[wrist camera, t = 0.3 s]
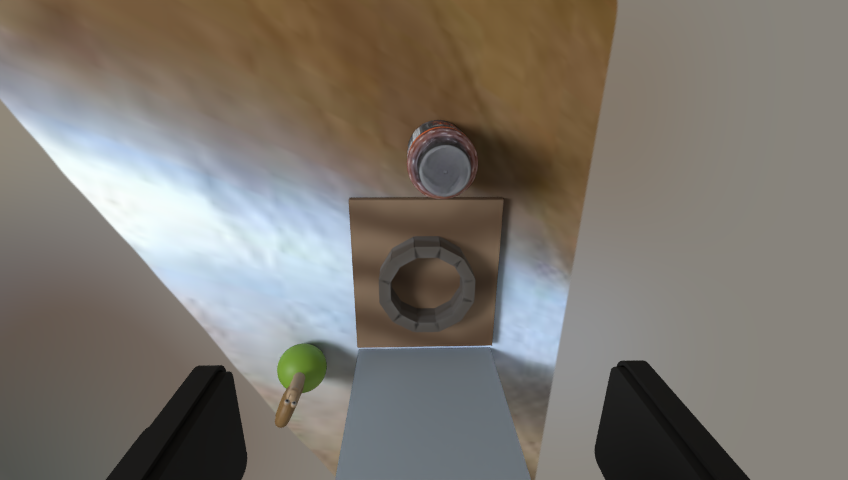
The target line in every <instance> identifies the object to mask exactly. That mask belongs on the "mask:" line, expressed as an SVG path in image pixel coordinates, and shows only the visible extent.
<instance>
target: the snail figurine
mask: <svg viewBox="0 0 848 480" xmlns="http://www.w3.org/2000/svg"><path fill="white" fill-rule="evenodd" d="M326 368H327V364H326V359H325V356H324V355H323V353H322V352H321V351H320V350H319V349H318V348H317V347H315V346H313V345H310V344H298V345H295V346H292V347H291V348H289V349H288V350H286V351H285V352H284V354H283V355H282V356H281V358H280V360H279V363H278V367H277V373H278V378H279V380H280V382H281V384H282V385H283V386H284V387H285V388H286V391H285V393H284V394H283V397H282V399H281V401H280V404H279V407H278V410H277V412H276V419H275V424H276V426H277V427H280V428H282V427H284V426H286V425H287V424H288V422H289V420H290V418H291V416H292V414H293V412H294V410H295V407H296V406H297V403H298V400H299V398H300V396H301V393H305V392H309V391H311V390H313V389H315V388H316V387H317V386H318V385H319V384H320V383H321V382H322V380H323V379H324V376H325V374H326Z"/></svg>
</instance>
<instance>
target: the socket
mask: <svg viewBox="0 0 848 480" xmlns="http://www.w3.org/2000/svg"><path fill="white" fill-rule="evenodd" d="M503 202H504V200H503V198H502V197H453V198H449V199H434V198H431V197H393V198H350V199H349V214H350V230H351V247H352V264H353V280H354V297H355V313H356V330H357V347H358V348H362V347H424V346H486V345H492V339H493V326H494V314H495V301H496V289H497V276H498V264H499V251H500V239H501V226H502V214H503Z"/></svg>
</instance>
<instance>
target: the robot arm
mask: <svg viewBox="0 0 848 480" xmlns="http://www.w3.org/2000/svg"><path fill="white" fill-rule="evenodd" d="M595 458H596V461H597V464H598V466H599V468H600V470H601V472H602V474H603V476H604V478H605V480H750V479H749V478H748V477H747V475H746V474H745V473H744V472H743V471H742V470H741V469H740V468H739V466H738V465H737V464H736V463H735V462H734V461H733V459H732V458H731V457H730V456H729V455H728V454H727V453H726V451H725V450H724V449H723V448H722V447H721V446H720V445H719V443H718V442H717V441H716V440H715V439H714V438H713V437H712V435H711V434H710V433H709V432H708V431H707V430H706V429H705V427H704V426H703V425H702V424H701V423H700V422H699V421H698V420H697V418H696V417H695V416H694V415H693V414H692V413H691V412H690V410H689V409H688V408H687V407H686V406H685V405H684V404H683V403H682V401H681V400H680V399H679V398H678V397H677V396H676V394H675V393H674V392H673V391H672V390H671V389H670V388H669V387H668V385H667V384H666V383H665V382H664V381H663V380H662V379H661V377H660V376H659V375H658V374H657V373H656V372H655V370H654V369H653V368H652V367H651V366H650V365H649V364H648V363H647V362H646V361H620V362H619V363H618V364H617V367H613V368H612V369H611V372H610V377H609V381H608V386H607V391H606V396H605V401H604V406H603V411H602V415H601V420H600V425H599V430H598V435H597V439H596V444H595ZM246 464H247V452H246V446H245V440H244V435H243V429H242V423H241V418H240V412H239V407H238V401H237V395H236V390H235V384H234V379H233V374H232V373H231V372H226V369H225V368H224V366H221V365H220V366H219V365H217V366H197V367H195V368H194V369H193V370H192V372H191V373H190V374H189V376H188V377H187V378H186V380H185V381H184V382H183V384H182V385H181V386H180V387H179V389H178V390H177V391H176V393H175V394H174V395H173V397H172V398H171V399H170V400H169V402H168V403H167V404H166V406H165V407H164V408H163V410H162V411H161V412H160V414H159V415H158V416H157V418H156V419H155V420H154V421H153V423H152V424H151V425H150V427H148V428H146V429H145V431H143V432H142V434H141V435H140V436H139V437H138V439H137V440H136V441H135V442H134V444H133V445H132V446H131V448H130V449H129V450H128V452H127V453H126V454H125V455H124V457H123V458H122V459H121V461H120V462H119V464H117V466H116V467H115V468H114V470H113V471H112V472H111V474H110V475H109V476H108V478H107V479H106V480H241V479H242V477H243V475H244V472H245V469H246Z"/></svg>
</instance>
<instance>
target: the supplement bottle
mask: <svg viewBox="0 0 848 480" xmlns="http://www.w3.org/2000/svg"><path fill="white" fill-rule="evenodd" d="M477 169H478V157H477V152H476V149H475V147H474V145H473V144H472V142H471V141H470V139H469V138H468V137H467V136H466V135H465V134H464V133H463V132H462V131H461V130H460V129H459V128H457V127H456V126H455V125H453V124H452V123H450V122H447V121H443V120H434V121H429V122H426V123H424V124H422V125H421V126H420V127H418V128H417V129H416V130H415V132H414V133H413V134H412V136H411V138H410V140H409V144H408V153H407V170H408V174H409V177H410V179H411V181H412V183H413V185H414V186H415V187H416V188H417V189H418V190H419V191H420V192H421V193H423V194H424V195H426V196H428V197H431V198H434V199H449V198H453V197H456V196H458V195H460V194H461V193H463V192H464V191H465V190H466V189H467V188H469V186H470V185H471V184H472V182H473V181H474V179H475V176H476V173H477Z"/></svg>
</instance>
